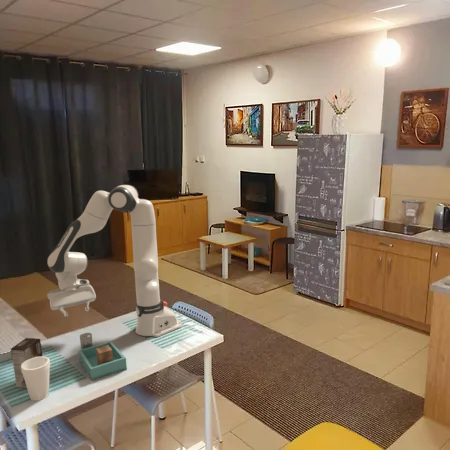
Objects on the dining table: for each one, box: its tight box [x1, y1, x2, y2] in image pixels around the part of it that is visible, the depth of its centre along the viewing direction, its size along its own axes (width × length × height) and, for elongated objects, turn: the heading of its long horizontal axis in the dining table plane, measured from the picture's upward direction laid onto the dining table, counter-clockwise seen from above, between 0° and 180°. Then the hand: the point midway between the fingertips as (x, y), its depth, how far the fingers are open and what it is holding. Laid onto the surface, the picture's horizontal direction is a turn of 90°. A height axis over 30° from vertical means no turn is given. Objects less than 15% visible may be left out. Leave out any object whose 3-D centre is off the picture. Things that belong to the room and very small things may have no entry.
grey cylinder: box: [79, 332, 94, 350], centre depth 183 cm, size 5×5×8 cm
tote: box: [77, 340, 128, 381], centre depth 172 cm, size 14×18×5 cm
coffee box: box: [10, 337, 43, 389], centre depth 161 cm, size 9×6×16 cm
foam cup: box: [21, 355, 51, 402], centre depth 152 cm, size 10×9×13 cm
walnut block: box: [96, 345, 113, 365], centre depth 168 cm, size 5×5×8 cm
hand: (77, 313), depth 191 cm, fingers open, 8 cm apart
